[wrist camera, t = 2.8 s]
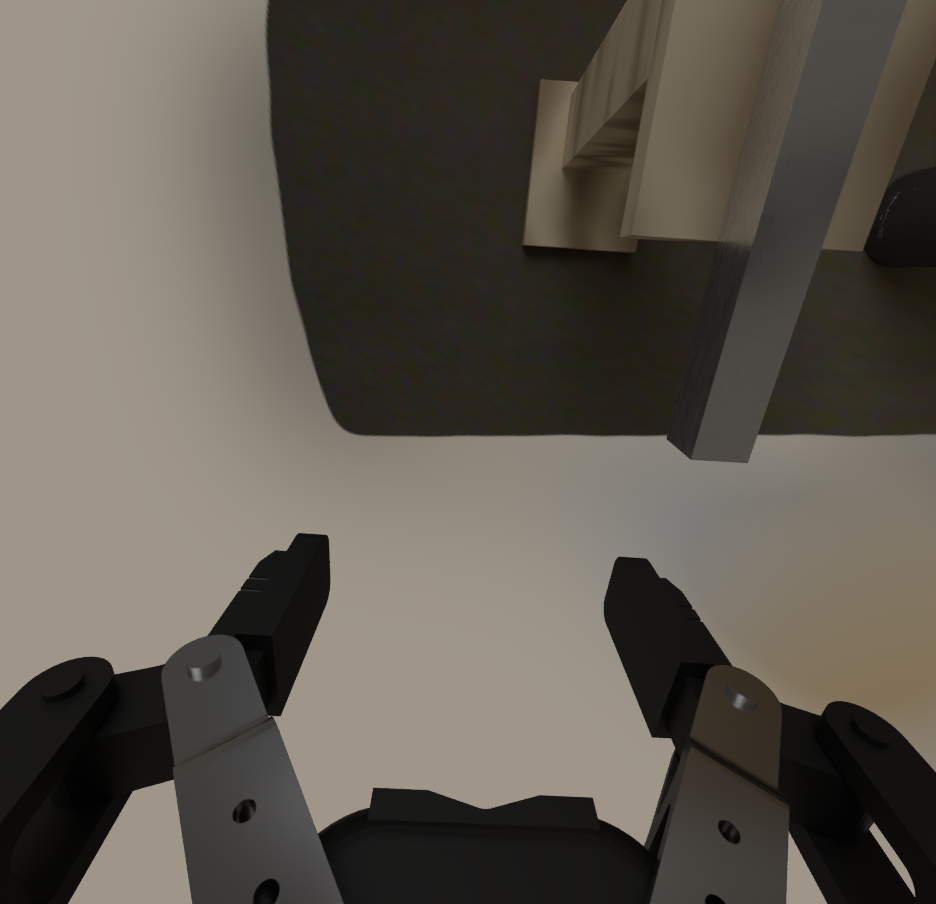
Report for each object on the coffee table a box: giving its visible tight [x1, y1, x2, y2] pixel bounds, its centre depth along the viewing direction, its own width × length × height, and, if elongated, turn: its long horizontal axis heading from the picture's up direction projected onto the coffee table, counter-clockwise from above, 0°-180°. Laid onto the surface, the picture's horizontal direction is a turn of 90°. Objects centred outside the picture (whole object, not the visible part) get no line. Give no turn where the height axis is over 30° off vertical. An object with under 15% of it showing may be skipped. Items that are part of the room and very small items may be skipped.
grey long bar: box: [667, 0, 907, 463], centre depth 16 cm, size 3×22×3 cm, turn 176°
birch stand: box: [522, 0, 936, 253], centre depth 30 cm, size 12×16×32 cm
